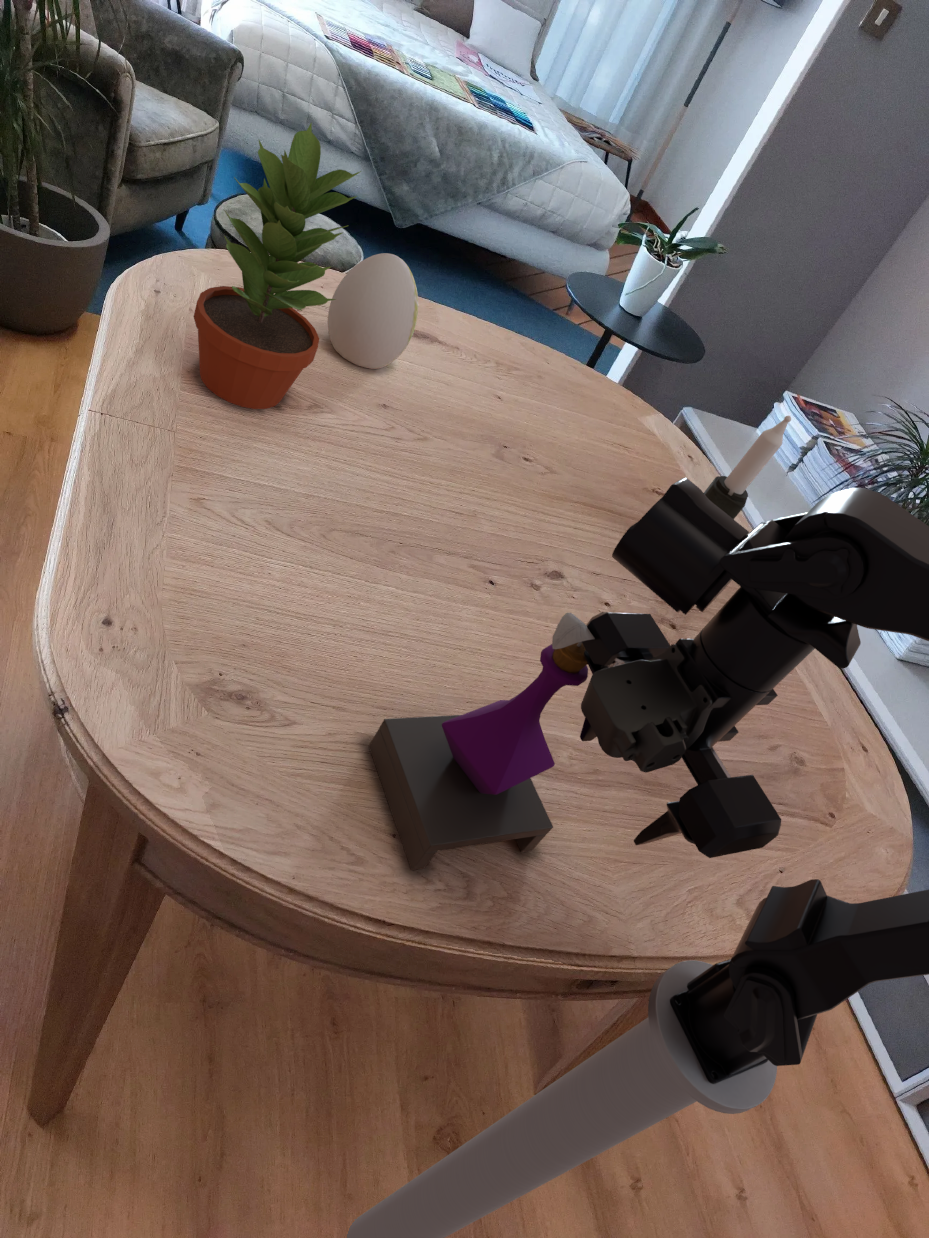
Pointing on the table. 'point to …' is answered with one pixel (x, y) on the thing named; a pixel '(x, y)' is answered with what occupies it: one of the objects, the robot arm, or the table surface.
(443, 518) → the table surface
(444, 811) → the shelf
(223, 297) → the potted plant
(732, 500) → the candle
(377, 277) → the decorative egg
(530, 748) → the perfume bottle
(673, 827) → the robot arm
